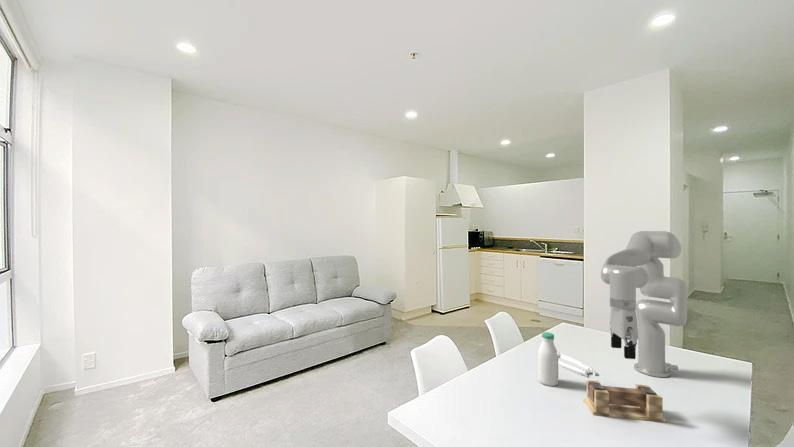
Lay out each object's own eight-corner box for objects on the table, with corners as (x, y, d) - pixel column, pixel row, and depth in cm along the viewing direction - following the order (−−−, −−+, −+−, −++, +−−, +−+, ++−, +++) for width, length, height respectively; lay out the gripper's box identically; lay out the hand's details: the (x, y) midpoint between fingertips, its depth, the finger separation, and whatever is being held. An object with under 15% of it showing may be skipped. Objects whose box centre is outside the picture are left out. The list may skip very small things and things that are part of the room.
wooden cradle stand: (651, 408, 117) (651, 385, 117) (666, 422, 108) (666, 398, 108) (583, 401, 121) (583, 379, 121) (592, 414, 112) (592, 391, 113)
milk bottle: (557, 388, 131) (557, 338, 131) (536, 383, 135) (536, 334, 135) (559, 380, 137) (559, 332, 137) (539, 376, 141) (539, 329, 142)
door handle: (556, 354, 166) (600, 375, 143) (540, 357, 163) (582, 379, 140) (556, 349, 166) (600, 369, 143) (540, 351, 163) (582, 372, 140)
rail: (652, 403, 115) (652, 388, 115) (658, 408, 111) (658, 393, 111) (589, 397, 118) (589, 382, 118) (593, 402, 115) (593, 387, 115)
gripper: (648, 310, 106) (648, 364, 106) (622, 298, 123) (622, 344, 123) (622, 309, 107) (622, 362, 107) (600, 298, 124) (600, 343, 124)
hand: (622, 352), depth 115 cm, fingers open, 9 cm apart
